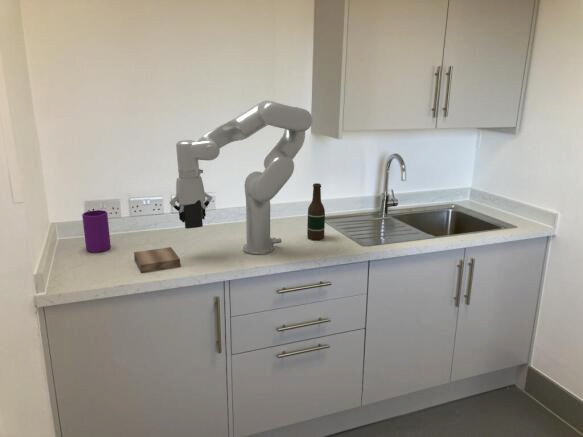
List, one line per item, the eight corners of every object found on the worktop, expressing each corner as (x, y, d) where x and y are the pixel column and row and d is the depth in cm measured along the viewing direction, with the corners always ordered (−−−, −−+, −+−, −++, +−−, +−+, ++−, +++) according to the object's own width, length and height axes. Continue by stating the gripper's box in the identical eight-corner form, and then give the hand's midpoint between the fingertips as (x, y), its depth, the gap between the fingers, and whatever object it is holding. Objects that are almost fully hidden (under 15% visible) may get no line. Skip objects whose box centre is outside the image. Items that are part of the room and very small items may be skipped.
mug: (87, 254, 191) (82, 217, 187) (84, 242, 205) (80, 207, 200) (112, 251, 195) (108, 214, 191) (107, 239, 208) (104, 205, 204)
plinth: (171, 254, 192) (171, 247, 192) (180, 266, 180) (179, 259, 180) (134, 259, 186) (133, 252, 186) (141, 272, 174) (140, 265, 174)
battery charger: (202, 224, 191) (199, 195, 187) (203, 227, 187) (201, 198, 184) (183, 226, 189) (181, 197, 185) (185, 229, 185) (182, 200, 182)
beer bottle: (304, 239, 211) (305, 184, 204) (310, 234, 218) (311, 181, 211) (321, 242, 208) (322, 186, 202) (326, 236, 215) (328, 183, 208)
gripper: (208, 169, 189) (211, 214, 194) (163, 174, 182) (167, 220, 187) (214, 173, 182) (217, 219, 188) (167, 178, 175) (172, 226, 180)
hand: (192, 219), depth 187 cm, fingers closed on battery charger, 7 cm apart
